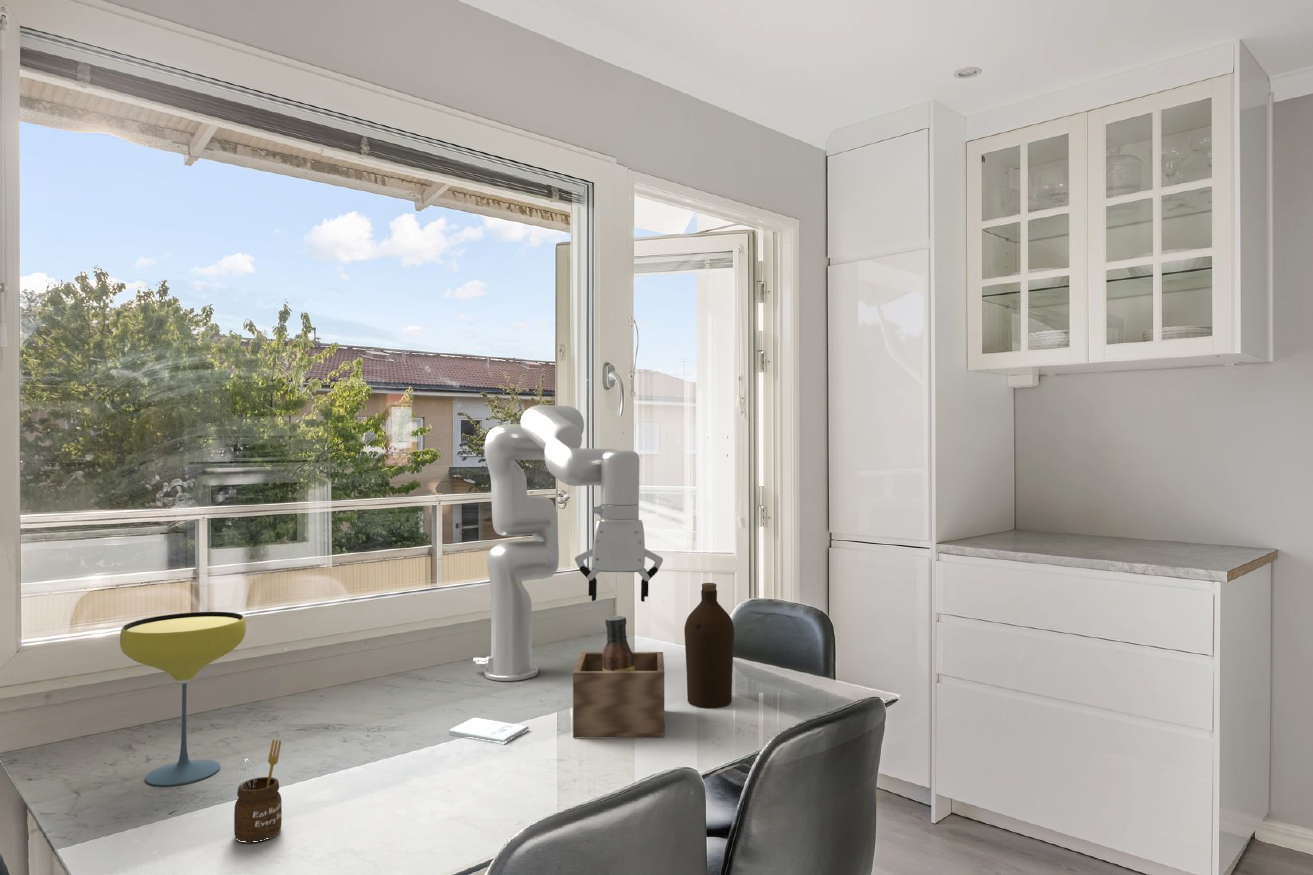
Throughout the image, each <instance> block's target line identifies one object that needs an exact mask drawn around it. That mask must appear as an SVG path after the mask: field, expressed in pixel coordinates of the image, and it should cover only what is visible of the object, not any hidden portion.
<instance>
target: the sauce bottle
mask: <svg viewBox="0 0 1313 875" xmlns="http://www.w3.org/2000/svg"><path fill="white" fill-rule="evenodd" d="M626 618H627V617H626V616H623V615H612V616H608V617H606V618H605V627H606V635H607V636H606V641H607V642H606V644H605V647H604V648H603V650H602V652H603V656H602V658H603V671H635V668H634V659H633V655H632V652H633V651H632V650H631V648H630V645H629V643H628V640H627V637H628V636H627V631H626V628H627V626H626V625H627V619H626Z"/></svg>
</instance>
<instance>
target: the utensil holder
mask: <svg viewBox="0 0 1313 875" xmlns="http://www.w3.org/2000/svg"><path fill="white" fill-rule="evenodd" d="M281 744H282V740H278V739H276V740H275V739H272V741H271V746H270V750H269V755H268V761H267V762H268V763H269V765H270V766H269V772H268V776H261V777H256V776H253V778H251V779H249V777H246V781H244V778H243V775H242V774H243V773H242V772H240V774H239V776H238V781H239V786H238V787H237V793H236V794H237V797H238V798H237V799H236V802H235V805H234V812H233V813H234V814H233V817H234V818H233V820H234V821H233V826H234V827H233V830H234V831H233V832H234V838H235V839H238V840H240V841H246V842H253V841H260V840H264V839H266V838H270V837H272V838H274V837H275V836H274V835H276V834H277V833H278V832H279V833H280V831H281V829H282V820H283V819H282V816H283V815H282V812H283V809H282V808H283V806H282V803H283V802H282V796H281V793H280V792H279V789H280V783H279V780H278V779H277V778H276V777H273V776H272V775H273V770H274V766H275V765H276V764H278V762H279V761H278V760H279V758H280V751H281ZM250 761H251V762H252V763H251V762H250ZM248 762H249V764H250V765H252V766H251V768H252V769H253V770H252V773H253V774H255V773H256V772H255V769H256V771H258V770H257V767H255V766H257V764H256V762H254V760H253V759H250V760H248V758H245V759H242V760H241V761H240V762H239V763H238V766H237V770H236V772H237V773H239V772H238V769H239V770H242V764H243V763H245V764H244V766H245V767H246V769H249V768H248V767H249V766H248V765H247V763H248ZM254 765H255V766H254ZM254 767H255V768H254ZM245 773H246V775H247V776H250V773H249V772H248V771H245ZM279 833H278V834H279ZM278 834H277V835H278ZM277 835H276V836H277ZM273 836H274V837H273ZM270 839H271V838H270Z"/></svg>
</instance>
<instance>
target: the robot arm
mask: <svg viewBox="0 0 1313 875" xmlns="http://www.w3.org/2000/svg"><path fill="white" fill-rule="evenodd" d="M584 429H585V420H584V417H583V415H582V414H581V412H580V411H579V410H578V409H577V408H575V407H573V406H570V405H554V404H553V405H550V404H549V405H548V404H537V405H533V406H531V407H529V408H527V409H526V410H524V412H523V413H522V415H521V417H520V423H517V424H516V423H507V424H499V425H497V426H495V427H492V428H491V429H490V430H489V431H488V433H487V434H486V436H485V440H484V449H483V450H484V457H485V461H486V466H487V469H488V472H489V476H490V484H491V485H490V487H491V488H490V492H491V493H490V495H491V518H492V520H491V521H492V526H493V530H494V532H495V533H496V534H497V535H500V536H502V537H520V536H521V537H522V536H532V539H533V540H520V541H519V540H518V541H507V542H502V543H498V544H496V545H495V546H494V545H493V547H491V549H490V550H489V552H488V553H487V557H486V564H487V571H488V578H489V584H490V585H489V586H490V599H491V600H490V601H491V602H490V604H491V605H490V611H491V612H490V615H491V617H490V618H491V619H490V626H491V631H490V634H491V635H490V636H491V637H490V638H491V639H490V641H491V642H490V647H491V648H490V652H491V653H490V655H486V657H481V656H480V657H479V656H478V657H477V656H473V660H472V664H473V666H475V667H476V668H483V667H484V668H486V669H485V670H484V677H485V678H487V679H488V680H492V681H498V682H499V681H500V682H511V681H512V682H513V681H514V682H515V681H522V680H523V681H524V680H527V679H532V678H533V677H536V676H537V675H538V673H539V669H538V667H537V666H536V665H535V664H532V598H531V596H530V593H529V592H528V590H527V589H526V588H525V586H524V585H523V582H526V581H534V580H535V581H536V580H542V579H543V580H544V579H548V578H551V577H553V576H554V575H555V574H557V571H558V568H559V565H560V564H559V563H560V562H559V561H560V553H559V552H560V551H559V550H560V549H559V548H560V547H559V546H560V545H559V526H558V524H559V520H558V512H557V509H556V505H555V504H554V502H553V501H552V499H550V498H549V497H546V496H544V495H528V488H527V487H528V484H527V482H528V481H527V476H526V474H525V472H524V471H523V469H522V468H521V466H520V464H518V462H517V461H518V460H522V461H525V460H526V461H532V460H533V461H536V460H537V461H541V460H543V461H544V463H545V465H546V469H547V470H548V471H549V473H550V474H551V475H552V476H553V477H555V478H556V479H557V480H558V481H559V482H562V483H563V484H565V485H568V486H571V487H583V486H584V487H585V486H586V487H587V486H600V504H599V506H593V510H592V511H593V514H594V515H596V514H597V515H598V516H600V519H596V522H595V526H594V527H595V528H594V533H593V546H592V548H590V549H588V550H586V551H584V552H582V553H580V554H578V555H576V556H575V558H574V560H575V563H576V565H577V567H578V569H579V571H580V572H581V574H583V575H584V576H585V578H587V580H588V596H589V597H591V602H595V601H596V600H597V589H598V588H597V584H598V582H597V578H596V576H597V575H598V574H599V572H600V573H601V572H602V573H638V574H639V575H640V576H641V578H642V579H640V580H641V582H640V587H641V588H640V601H641V602H646V601H645V597H646V598H648V597H649V581H650V580H651V579H652V578H653V577H654V576H655V575H656V574H658V571H659V570H660V567H661V566H662V564H663V561H664V559H663V557H662V556H660V555H659V554H656V553H654V552H652V551H651V550H648V549H647V548H646V547H645V546H646V544H645V543H646V541H645V540H646V539H645V530H644V529H645V528H644V523H643V519H639V517H640V516H639V515H640V463H641V462H640V455H639V454H638V452H636V451H633V450H618V449H614V448H589V447H588V448H581V446H582V443H583V433H584ZM591 557H592V569H591V570H590V569H589V568H588V567H587V565H586V564H585V560H588V559H589V558H591ZM646 558H648V559H649V560H651V561H653V563H654V564H652V565H653V566H652V567H651V568H650V569H649V570H647V569H646V568H645V565H646Z"/></svg>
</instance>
